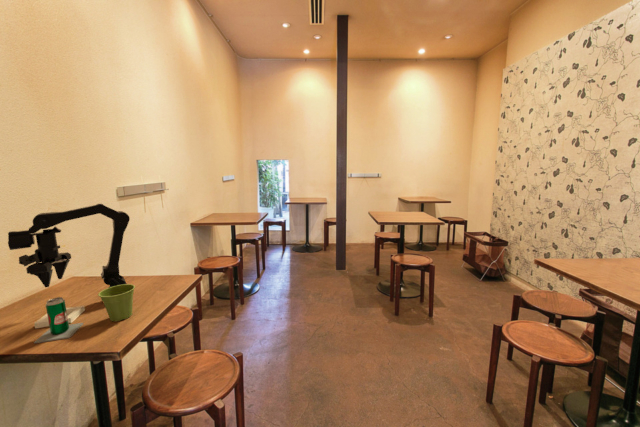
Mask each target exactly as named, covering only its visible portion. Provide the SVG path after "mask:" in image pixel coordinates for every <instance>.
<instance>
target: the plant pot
mask: <svg viewBox="0 0 640 427" xmlns="http://www.w3.org/2000/svg"><path fill="white" fill-rule="evenodd" d="M135 288H136V285H135V284H132V283H131V284H130V283H127V284H123V285H117V286H113V287H110V288H108V287H107V288H105V289H102V290H101V291H99V292H98V294H97V296H98V298H99V297H100V299H101V301H102V302H103V304H104V308H105V311H106V313H107V315H108V318H109V320H110V321H111V322H120V321H122V320H127V319H129V318H130V317H131V316H132V315H133V299H134V291H135Z"/></svg>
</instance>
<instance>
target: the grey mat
mask: <svg viewBox="0 0 640 427" xmlns="http://www.w3.org/2000/svg"><path fill="white" fill-rule="evenodd" d="M83 325H84V322H79V323H70V324H69V329H68V330H67V331H66V332H64V333H61V334H57V335H53V334H51V332H50V328H48V329H47V330H46V331H45V332H44V333H43V334H41V335H40V336H39V338H37V339H36V340H34V342H33V343H34V344H39V343H47V342H52V341H60V340H66V339H71V337H73V335H74V334H76V333H77V331H79V329H80V328H81V327H82V326H83Z"/></svg>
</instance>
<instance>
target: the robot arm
mask: <svg viewBox="0 0 640 427" xmlns="http://www.w3.org/2000/svg"><path fill="white" fill-rule="evenodd" d="M98 214H100V215H103V216H104V217H107V218H109V219H111V220H112V229H113V230H112V237H111V238H112V239H111V244H110V250H109V255H108V260H107V264H106V265H102V266H101V268H102V270H101V273H100V278H101V279H102V280H103V283H104V284H105V285H107V286H108V287H107V288H110V287H113V286H117V285H123V284H128V283H127V281H126V279H125V277H124V276H122V275H121V274H120V266H119V264H120V257H121V253H122V252H121V251H122V245H123V239H124V234H125V231H126V229H127V227H128V225H129V222H130V216H129V214H128V213H126V212H125V211H121V210H120V211H119V210H118V211H117V210H115V209H113V208H111V207H109V206H106V205H104V204H103V203H97V204H94V205H89V206H85V207H80V208H74V209H70V210H69V209H68V210H65V211H55V212H54V211H51V212H41V213H40V212H39V213H38V214H36V215H35V216H34V217H33V219H32V225H31V226H30V227H28V229H27V230H19V231H18V230H16V231H15V230H12V231H8V232H7V235H8V236H7V237H8V238H7V244H8V247H9V248H8V249H9V251H10V250H11V251H13V250H20V249H29V248H32V246H33V245H35V244H36V246H37V248H36V249H35V250H34V253H33V254H31V255H29V254H24V255H20V256H19V257H18V264H19V265H23V267H26V270H25V271H26V274H30V275H31V276H35V277H37V278H38V279H39V280H40V282H41V284H42V285H43V287H45V288H49V287H50V285H51V280H52V276H53V271H55V273H56V277H57V280H61V279H63V278H64V277H63V276H64V275H65V272H66V269H67V267H68V265H69V262H70V261H71V259H72V255H71V253H70V252H68V251H67V252H59V249H61V245H58V242H57V235H56V234H58V233H61V232H62V229H60V228H58V227H57V225H59V224H62V223H64V222H67V221H71V220H76V219H81V218H85V217H89V216H93V215H94V216H95V215H98ZM52 227H53V228H52ZM41 230H42V231H41ZM39 231H41V232H39ZM35 238H36V239H35ZM35 240H36V241H35ZM52 267H53V269H52Z"/></svg>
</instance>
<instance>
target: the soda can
mask: <svg viewBox="0 0 640 427" xmlns="http://www.w3.org/2000/svg"><path fill="white" fill-rule="evenodd" d="M45 308H46V314H47V316H48V321H49V326H48V328H49V329H50V332H51V334H53V335H57V334H61V333H64V332H66V331H67V330H68V329H69V325H70V323H68V317H67V316H68V314H67V311H66V308H67V306H66V301H65V299H64V298H63V296H59V297H53V298H51V299H48V300H46V303H45Z"/></svg>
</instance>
